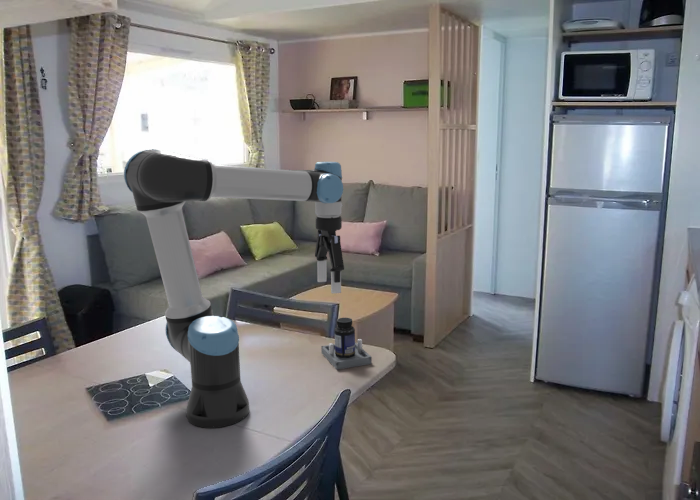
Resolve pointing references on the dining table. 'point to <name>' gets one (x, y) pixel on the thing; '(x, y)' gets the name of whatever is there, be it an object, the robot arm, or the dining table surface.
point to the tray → (356, 360)
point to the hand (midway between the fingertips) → (328, 287)
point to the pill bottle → (344, 338)
